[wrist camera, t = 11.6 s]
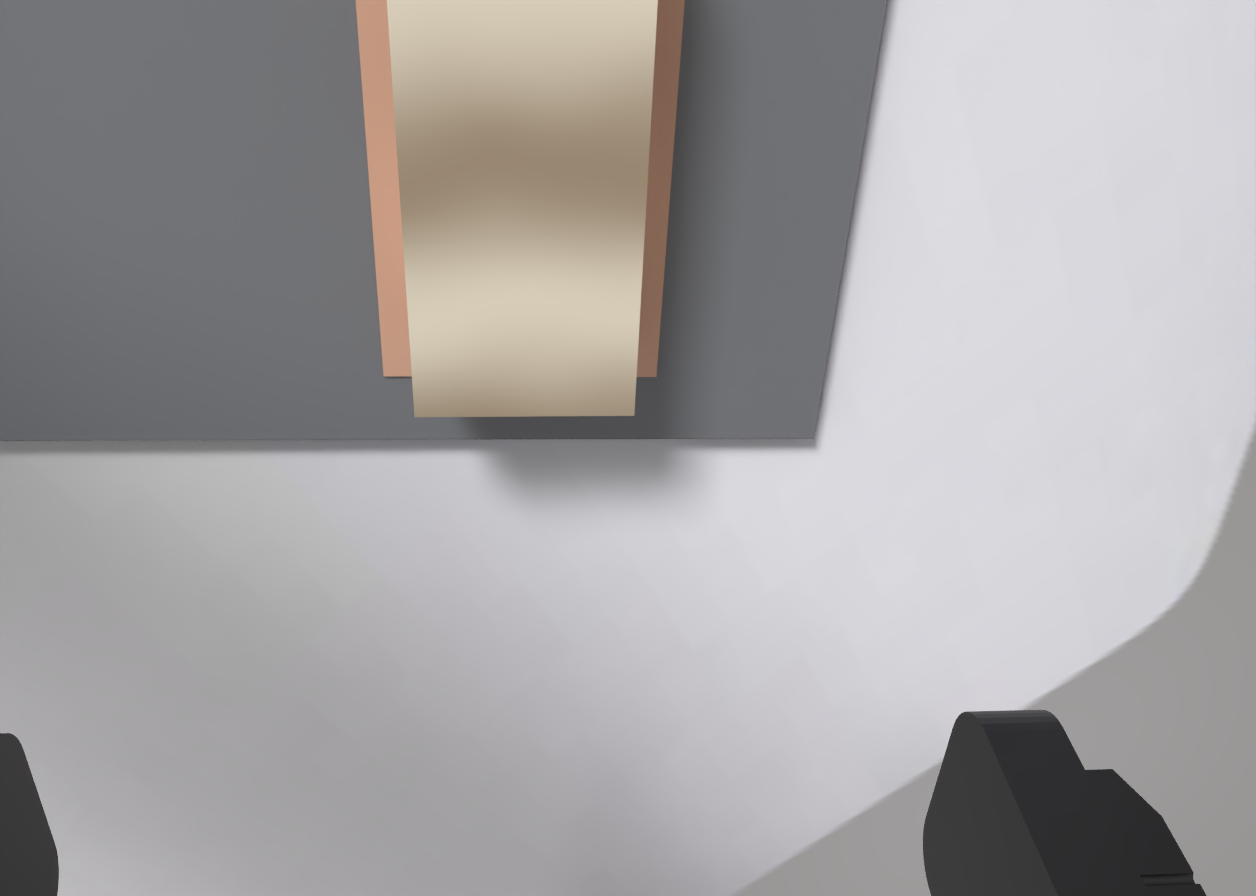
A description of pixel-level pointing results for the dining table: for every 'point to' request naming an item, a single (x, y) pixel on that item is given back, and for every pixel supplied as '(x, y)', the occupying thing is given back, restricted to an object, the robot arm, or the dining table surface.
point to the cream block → (523, 200)
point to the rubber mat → (388, 222)
